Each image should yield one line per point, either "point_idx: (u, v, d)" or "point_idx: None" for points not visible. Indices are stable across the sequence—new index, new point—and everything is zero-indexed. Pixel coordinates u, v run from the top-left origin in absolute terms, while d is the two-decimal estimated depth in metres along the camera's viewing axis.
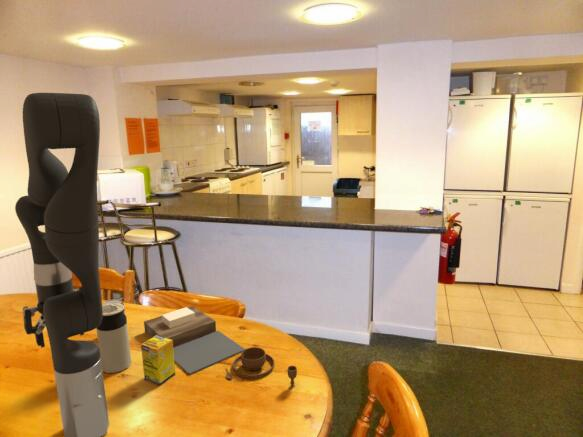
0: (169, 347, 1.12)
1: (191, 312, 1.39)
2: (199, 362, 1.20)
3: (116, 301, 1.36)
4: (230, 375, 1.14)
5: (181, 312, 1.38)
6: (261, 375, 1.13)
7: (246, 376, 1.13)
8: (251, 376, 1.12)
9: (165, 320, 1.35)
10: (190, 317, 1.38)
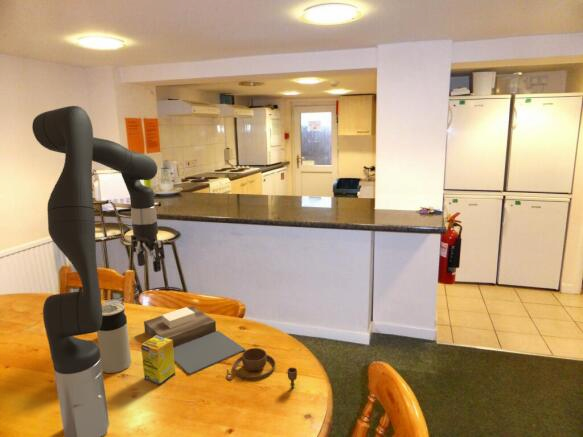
0: (169, 347, 1.12)
1: (191, 312, 1.39)
2: (199, 362, 1.20)
3: (116, 301, 1.36)
4: (231, 376, 1.14)
5: (181, 312, 1.38)
6: (261, 376, 1.12)
7: (246, 377, 1.12)
8: (251, 377, 1.12)
9: (165, 320, 1.35)
10: (190, 317, 1.38)
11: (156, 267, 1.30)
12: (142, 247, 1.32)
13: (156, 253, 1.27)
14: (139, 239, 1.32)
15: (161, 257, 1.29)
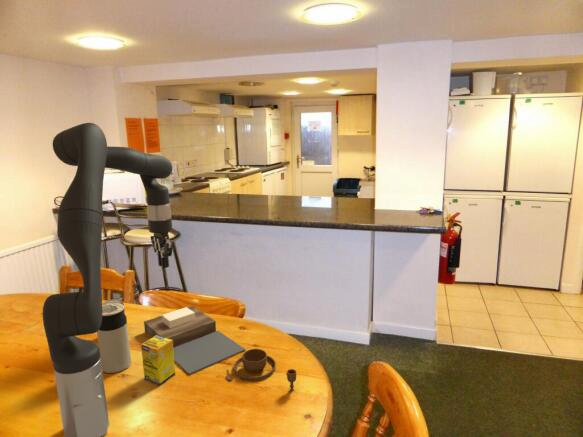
0: (169, 347, 1.12)
1: (191, 312, 1.39)
2: (199, 362, 1.20)
3: (116, 301, 1.36)
4: (230, 376, 1.14)
5: (181, 312, 1.38)
6: (261, 377, 1.12)
7: (246, 378, 1.12)
8: (251, 378, 1.11)
9: (165, 320, 1.35)
10: (190, 317, 1.38)
11: (164, 263, 1.38)
12: None
13: (164, 251, 1.35)
14: (155, 236, 1.40)
15: (168, 254, 1.37)
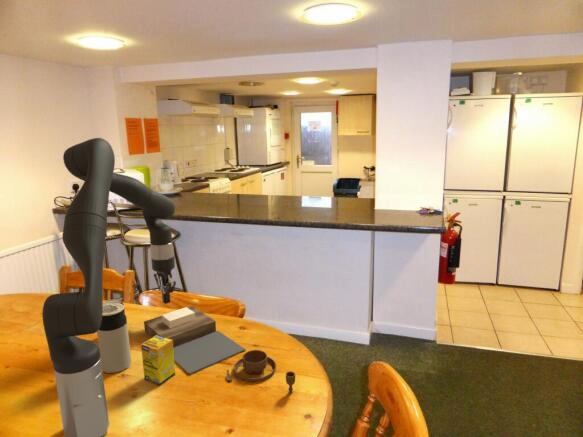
0: (169, 347, 1.12)
1: (191, 312, 1.39)
2: (199, 362, 1.20)
3: (116, 301, 1.36)
4: (230, 377, 1.13)
5: (181, 312, 1.38)
6: (261, 379, 1.11)
7: (245, 379, 1.11)
8: (250, 379, 1.11)
9: (165, 320, 1.35)
10: (190, 317, 1.38)
11: (165, 299, 1.42)
12: None
13: (166, 289, 1.39)
14: (158, 274, 1.43)
15: (169, 291, 1.40)
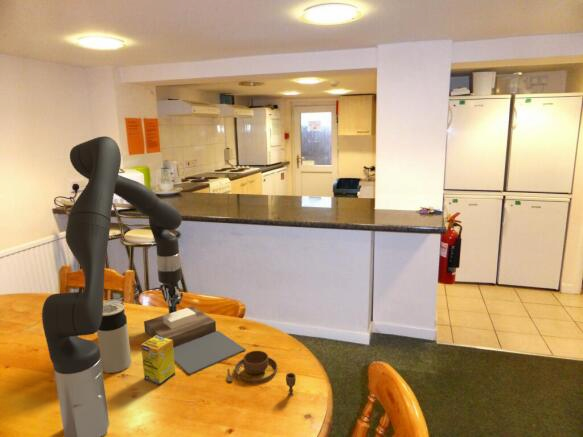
0: (169, 347, 1.12)
1: (192, 313, 1.38)
2: (199, 362, 1.20)
3: (116, 301, 1.36)
4: (231, 377, 1.13)
5: (182, 313, 1.38)
6: (261, 380, 1.11)
7: (246, 380, 1.11)
8: (251, 380, 1.10)
9: (166, 320, 1.35)
10: (191, 317, 1.37)
11: (172, 311, 1.39)
12: None
13: (173, 301, 1.36)
14: None
15: (176, 303, 1.37)
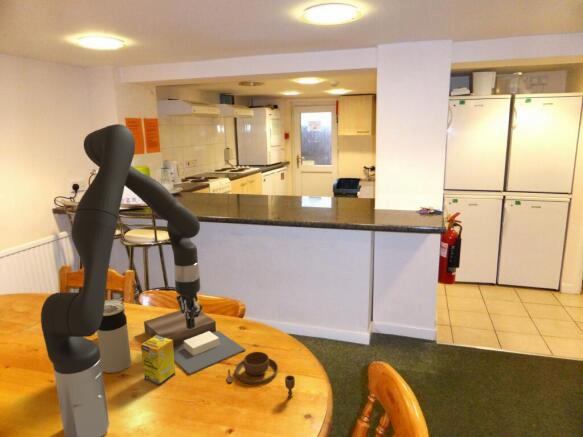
0: (169, 347, 1.12)
1: None
2: (199, 362, 1.20)
3: (116, 301, 1.36)
4: (231, 378, 1.13)
5: None
6: (261, 382, 1.10)
7: (246, 381, 1.10)
8: (251, 382, 1.10)
9: (188, 349, 1.25)
10: None
11: (190, 324, 1.30)
12: None
13: (191, 314, 1.26)
14: (181, 297, 1.30)
15: (194, 315, 1.28)
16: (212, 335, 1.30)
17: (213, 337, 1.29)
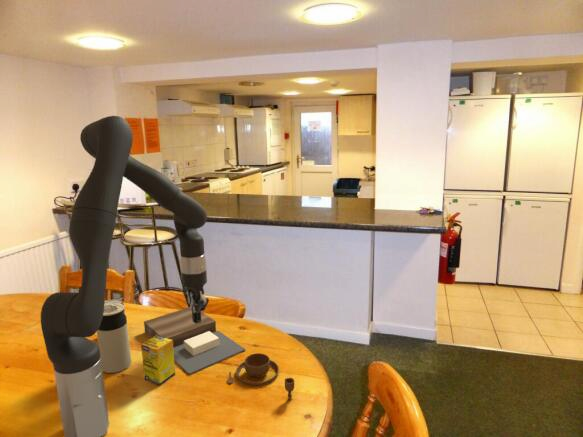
0: (169, 347, 1.12)
1: None
2: (199, 362, 1.20)
3: (116, 301, 1.36)
4: (231, 379, 1.12)
5: None
6: (261, 383, 1.09)
7: (246, 383, 1.10)
8: (251, 383, 1.09)
9: (188, 349, 1.25)
10: None
11: (196, 318, 1.26)
12: None
13: (198, 307, 1.23)
14: (187, 290, 1.27)
15: (201, 309, 1.24)
16: (212, 335, 1.30)
17: (213, 337, 1.29)
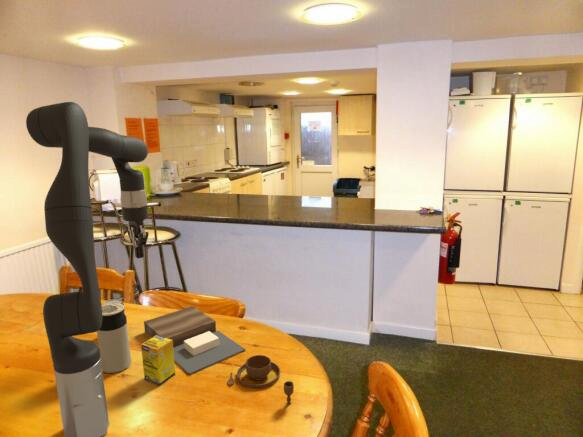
0: (169, 347, 1.12)
1: None
2: (199, 362, 1.20)
3: (116, 301, 1.36)
4: (232, 381, 1.12)
5: None
6: (261, 386, 1.08)
7: (246, 384, 1.09)
8: (251, 385, 1.08)
9: (188, 349, 1.25)
10: None
11: (138, 253, 1.30)
12: None
13: (138, 241, 1.27)
14: None
15: (142, 243, 1.28)
16: (212, 335, 1.30)
17: (213, 337, 1.29)
